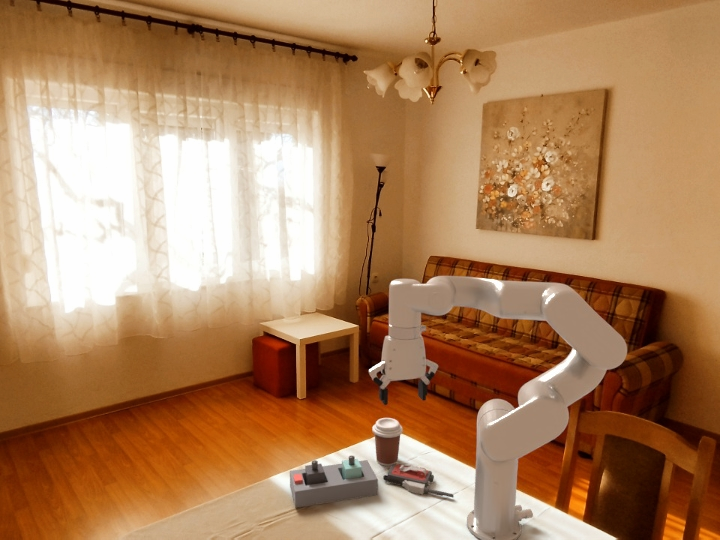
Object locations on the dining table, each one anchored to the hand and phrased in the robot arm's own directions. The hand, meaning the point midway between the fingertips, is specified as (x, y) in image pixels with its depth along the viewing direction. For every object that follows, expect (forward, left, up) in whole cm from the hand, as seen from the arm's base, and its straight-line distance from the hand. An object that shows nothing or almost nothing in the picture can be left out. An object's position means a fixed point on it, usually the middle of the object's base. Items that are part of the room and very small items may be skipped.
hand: (403, 400), depth 123 cm
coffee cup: (-5, -26, -31) cm, 40 cm away
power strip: (+14, -15, -30) cm, 37 cm away
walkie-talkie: (-10, -12, -31) cm, 34 cm away
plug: (+9, -15, -30) cm, 35 cm away
